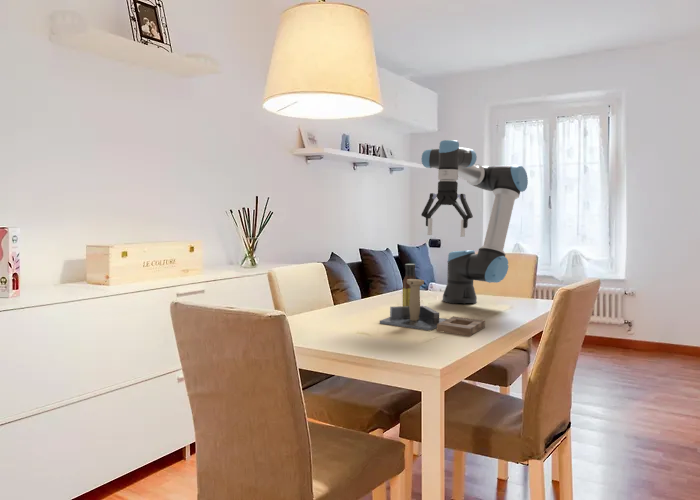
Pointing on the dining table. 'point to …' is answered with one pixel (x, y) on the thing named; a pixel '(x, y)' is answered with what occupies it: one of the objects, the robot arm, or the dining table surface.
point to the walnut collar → (461, 325)
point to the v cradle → (402, 318)
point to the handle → (415, 298)
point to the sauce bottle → (406, 287)
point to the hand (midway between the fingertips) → (445, 235)
